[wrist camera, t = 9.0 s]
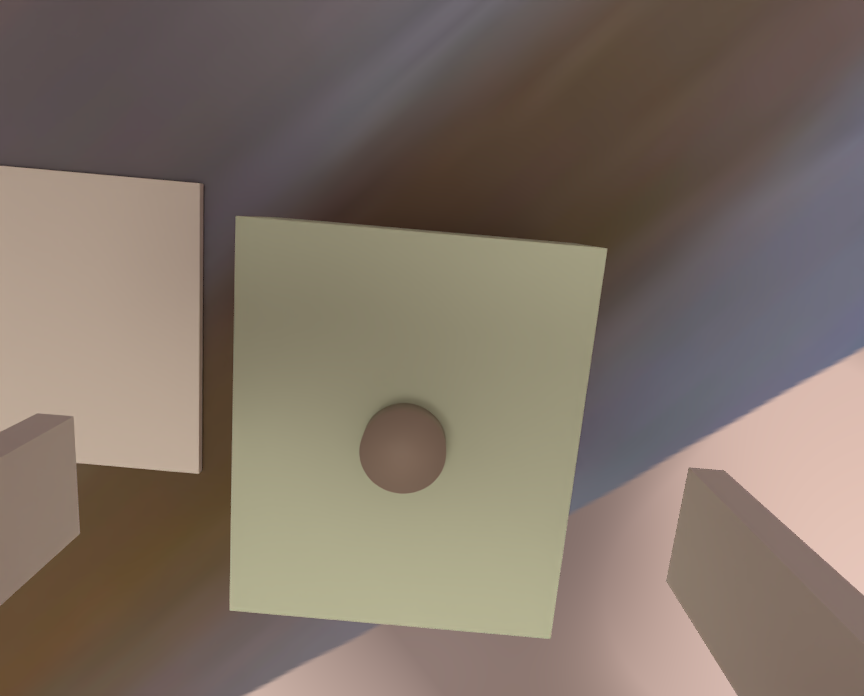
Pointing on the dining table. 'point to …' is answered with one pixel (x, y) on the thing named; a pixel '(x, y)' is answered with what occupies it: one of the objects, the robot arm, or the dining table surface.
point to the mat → (104, 313)
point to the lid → (406, 422)
